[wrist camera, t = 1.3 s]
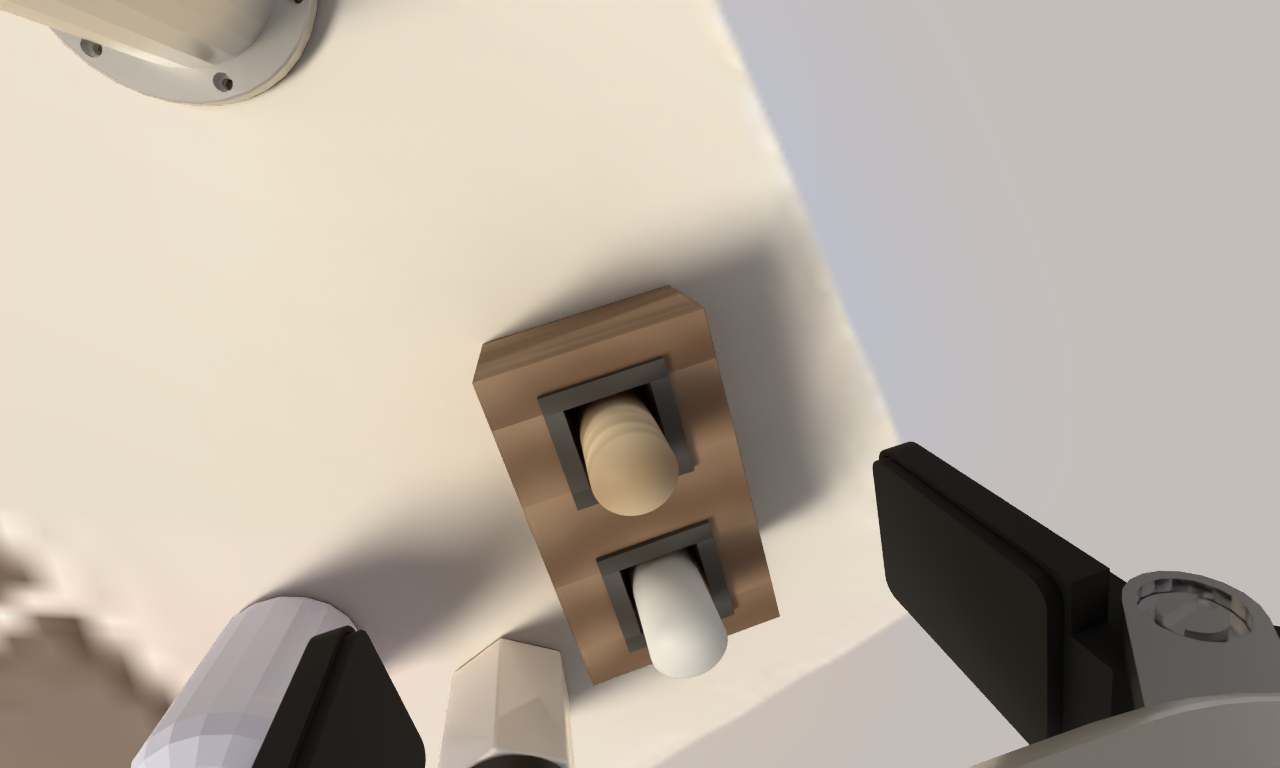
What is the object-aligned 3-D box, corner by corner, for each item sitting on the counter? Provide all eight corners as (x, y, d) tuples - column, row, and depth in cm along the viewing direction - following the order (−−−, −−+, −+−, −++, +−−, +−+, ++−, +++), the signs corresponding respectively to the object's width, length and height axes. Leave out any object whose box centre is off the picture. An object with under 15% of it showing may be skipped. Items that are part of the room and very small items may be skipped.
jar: (501, 750, 46) (493, 928, 35) (426, 690, 44) (391, 863, 32) (593, 681, 46) (615, 839, 35) (523, 616, 43) (523, 765, 32)
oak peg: (566, 395, 33) (578, 451, 26) (635, 372, 34) (665, 421, 26) (588, 457, 35) (604, 527, 27) (654, 435, 35) (688, 498, 28)
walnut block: (482, 344, 37) (471, 385, 29) (668, 285, 38) (706, 309, 30) (581, 600, 44) (594, 690, 36) (736, 545, 45) (782, 620, 37)
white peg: (617, 542, 37) (640, 629, 29) (679, 521, 37) (717, 601, 30) (635, 594, 38) (661, 689, 31) (695, 573, 38) (735, 661, 31)
